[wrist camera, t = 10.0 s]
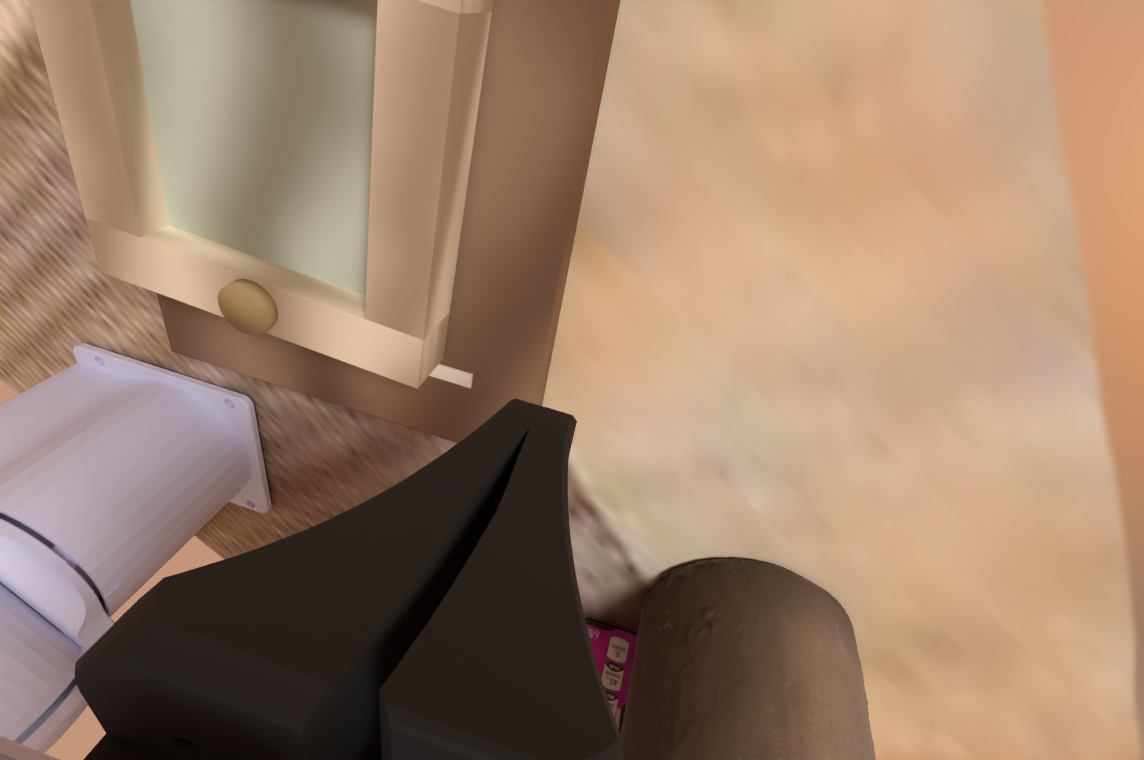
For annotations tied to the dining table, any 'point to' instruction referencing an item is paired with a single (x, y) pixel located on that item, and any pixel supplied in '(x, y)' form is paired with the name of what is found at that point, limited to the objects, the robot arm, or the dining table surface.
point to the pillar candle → (744, 669)
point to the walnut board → (475, 237)
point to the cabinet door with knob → (278, 159)
